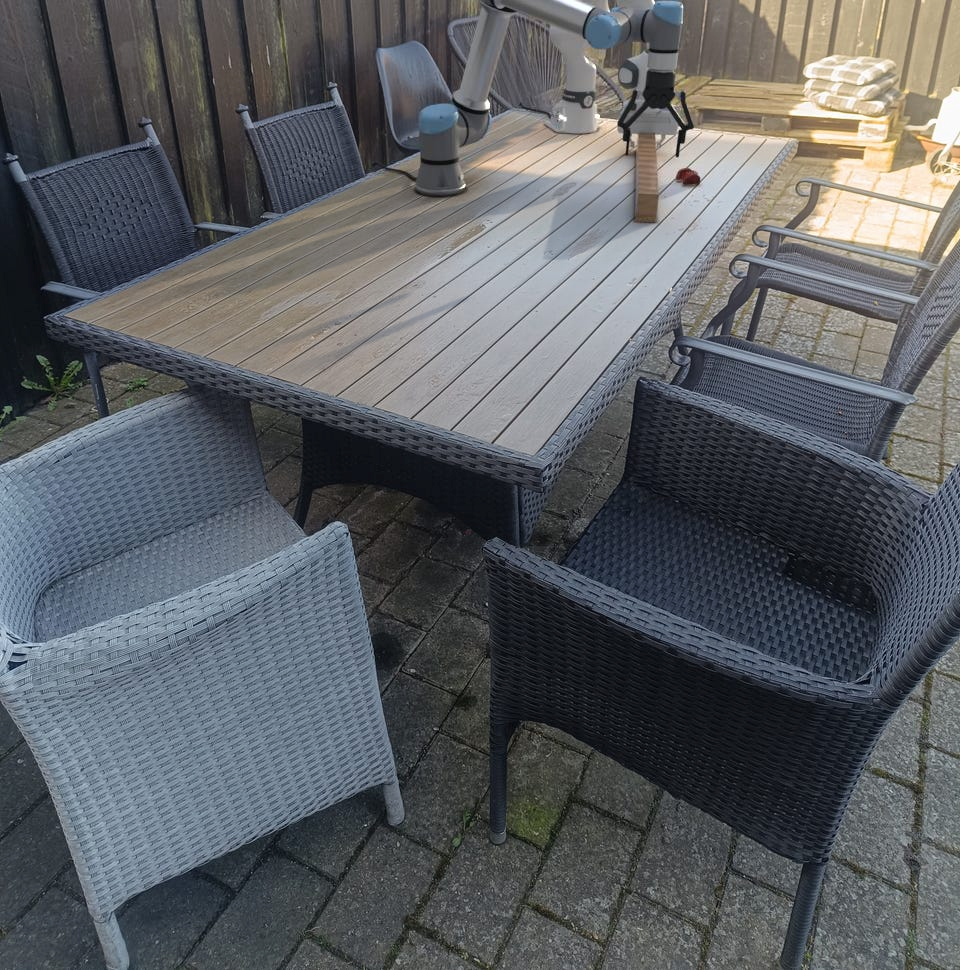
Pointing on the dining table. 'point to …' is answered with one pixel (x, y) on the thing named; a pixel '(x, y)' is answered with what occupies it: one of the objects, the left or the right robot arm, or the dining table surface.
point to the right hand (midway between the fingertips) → (645, 147)
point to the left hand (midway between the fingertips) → (651, 155)
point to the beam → (646, 179)
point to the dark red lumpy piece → (688, 176)
